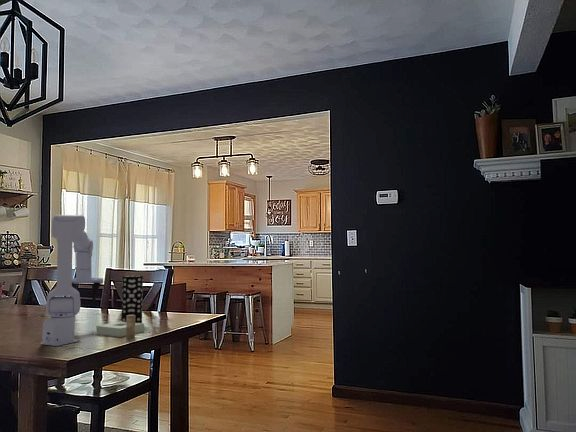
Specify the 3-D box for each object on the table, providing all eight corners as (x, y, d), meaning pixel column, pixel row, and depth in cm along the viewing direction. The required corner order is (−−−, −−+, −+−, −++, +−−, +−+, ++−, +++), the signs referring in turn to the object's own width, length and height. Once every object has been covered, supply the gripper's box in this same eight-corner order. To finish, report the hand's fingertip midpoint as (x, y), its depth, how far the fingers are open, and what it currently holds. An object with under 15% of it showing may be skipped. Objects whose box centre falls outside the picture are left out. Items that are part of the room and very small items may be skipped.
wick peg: (130, 339, 164) (131, 316, 164) (124, 338, 165) (124, 315, 165) (136, 337, 166) (137, 315, 167) (130, 336, 168) (130, 314, 168)
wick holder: (120, 336, 168) (120, 328, 168) (96, 334, 173) (96, 326, 173) (143, 331, 179) (144, 323, 179) (120, 329, 184) (120, 321, 184)
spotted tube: (132, 321, 203) (133, 275, 204) (146, 323, 199) (147, 276, 200) (117, 324, 196) (118, 276, 197) (130, 325, 192) (131, 277, 193)
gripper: (104, 266, 193) (104, 298, 194) (67, 266, 191) (67, 298, 192) (101, 269, 186) (101, 302, 188) (62, 269, 184) (62, 303, 185)
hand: (84, 301), depth 189 cm, fingers open, 7 cm apart
